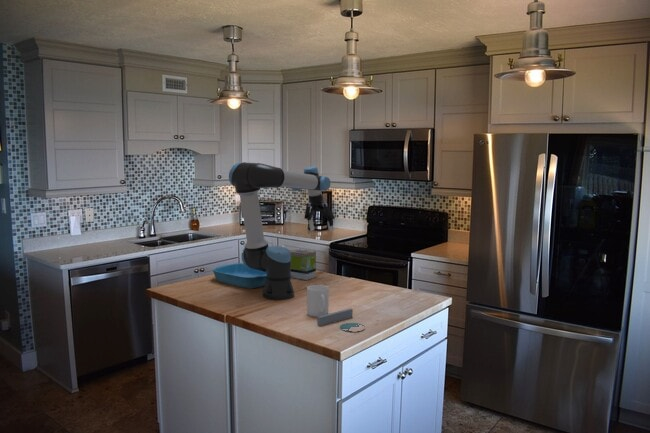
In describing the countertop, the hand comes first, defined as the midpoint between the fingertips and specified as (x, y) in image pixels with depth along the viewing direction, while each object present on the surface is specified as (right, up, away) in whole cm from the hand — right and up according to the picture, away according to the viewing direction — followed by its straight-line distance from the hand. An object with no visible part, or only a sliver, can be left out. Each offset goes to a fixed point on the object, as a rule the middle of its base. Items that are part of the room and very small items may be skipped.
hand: (321, 231), depth 291 cm
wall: (+6, -35, -76) cm, 84 cm away
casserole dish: (-41, -27, -15) cm, 52 cm away
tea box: (-12, -26, -3) cm, 29 cm away
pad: (+13, -37, -84) cm, 92 cm away
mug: (-1, -34, -68) cm, 76 cm away
